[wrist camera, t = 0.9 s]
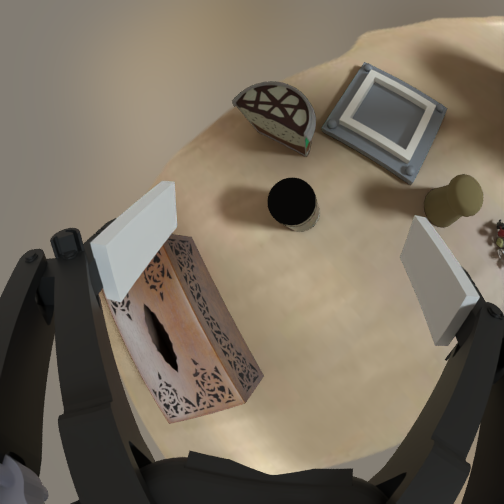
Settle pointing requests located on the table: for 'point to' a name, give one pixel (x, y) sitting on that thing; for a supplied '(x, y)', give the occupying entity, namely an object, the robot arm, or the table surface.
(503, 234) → the toy collection
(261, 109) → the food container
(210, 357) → the tissue box cover
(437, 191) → the cork
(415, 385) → the table surface
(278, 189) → the supplement container
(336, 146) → the table surface
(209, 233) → the table surface
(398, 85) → the base plate
